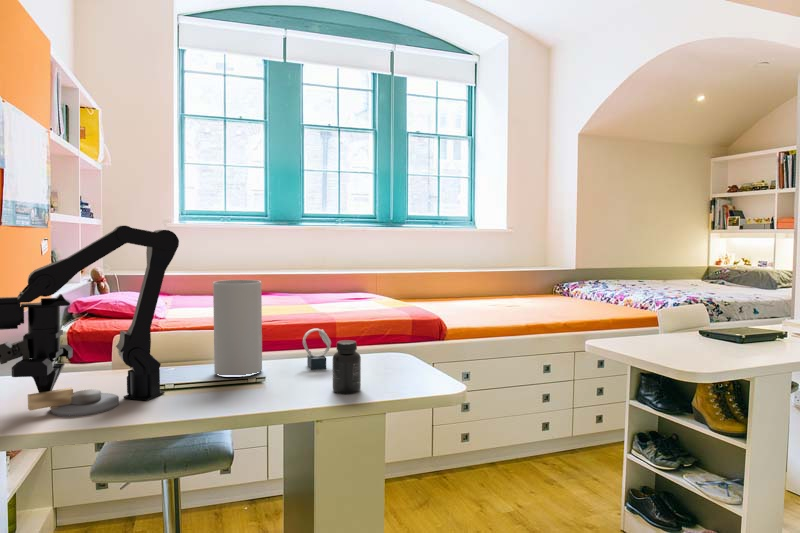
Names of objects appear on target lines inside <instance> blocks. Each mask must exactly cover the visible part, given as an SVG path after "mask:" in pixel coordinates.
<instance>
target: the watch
mask: <svg viewBox="0 0 800 533" xmlns="http://www.w3.org/2000/svg"><path fill="white" fill-rule="evenodd" d="M314 332H318V334H319V336H320V338H321V339H322V341H323V343H324V344H325V346H326V348H325V349H324V351H323V352H321V353H316V354H314V353H312V351H311V350H310V349H309V348H308V345H307V341H306V339H307V337H308V336H309V335H310V334H312V333H314ZM302 345H303V348H304V349H305V352H306V353H307V361H306V363H307V364H306V365H307V366H308V368H309V369H310V371H315V370H326V369H327V356H325V355H327V354H328V353H329V351H330V349H331V345H332V341H331V338H329V336H328V334H327V333H326V331H325V330H324V329H323V328H322V329H320V328H311V329H309V330H308V331H306V332H305V333H304V335H303V338H302Z"/></svg>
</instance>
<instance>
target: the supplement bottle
mask: <svg viewBox="0 0 800 533" xmlns="http://www.w3.org/2000/svg"><path fill="white" fill-rule="evenodd" d="M357 350H358V347H357V341H356V340H349V339H347V340H346V339H344V340H338V341H337V342H336V352H334V353H333V355H332V391H333V392H334V393H335V394H338V395H339V394H340V395H352V394H357V393H359V392H360V391H361V387H362V385H361V384H362V383H361V382H362V381H361V378H362V376H361V375H362V373H361V372H362V366H361V365H362V363H361V362H362V359H361V354H360V353H359V352H357Z"/></svg>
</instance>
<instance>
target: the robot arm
mask: <svg viewBox="0 0 800 533" xmlns="http://www.w3.org/2000/svg"><path fill="white" fill-rule="evenodd" d="M179 240H180V239H179V238H178V235H177V234H176V233H174V232H173V231H171V230H169V229H157V230H153V231H151V230H146V229H140V228H135V227H130V226H128V225H118V226H116V227H115V228H114V229H113V230H111V231H110V232H108V233H107V234H105V235H103V236H101V237H99V238H98V239H96V240H95V241H93V242H91V243H89V244H88V245H86V246H84V247H83V248H81V249H79V250H78V251H76V252H74V253H72V254H70V255H69V256H67V257H65V258H63V259H59V260H57V261H54V262H51V263H49V264H48V263H47V264H46V265H43V266H40V267H39V268H35V269H34V270H33V271H31V272H30V274H29V275H28V278H27V285H26V286H25V287H24V288H23V289H22V291H19V294H18V295H17V296H10V297H9V296H6V297H5V296H3V297H0V331H3V330H6V331H7V330H18V327H19V326H21V324H22V325H24V324H25V308H27V329H28V330H27V333H24V335H23V336H22V339H21V340H19V341H16V342H15V341H14V342H13V343H9V342H8V341H5V342H4V343H0V365H4V364H7V363H8V362H10V361H12V360H16V359H18V358H21V357H22V359H20V360H19V361H18V362H16V363H15V364H14V365H12V366H11V377H12V378H30V377H31V378H32V379H33V381H34V383H35V386H36V388H37V391H38V392H37V393H40V392H47V391H53V390H54V387H55V385H56V383H57V381H58V378H59V376H60V375H61V372H62V370H63V368H64V366H65V363H62V362H61V363H60V362H59V363H58V360H56V359H58V358H62V357H65V359H67V360H69V359H71V358H72V357H73V355H74V354H73V353H74V351H73V347H72V346H71V345H69V344H61V336H63V335H64V330H63V329H61V307H69V306H71V302H70V301H69V300H68V299H66V297H64V296H63V294H61V293H60V294H59V295H58V296H56V297H50V296H52V295H54V294H56V293H57V292H59V290H61V289H62V288H63V287H64V286H65V285H66V284H68V282H70V281H71V280H72V279H73V278H74V277H75V276H76V275H77V274H78V273H80V272H81V271H83V270H84V269H86V268H88V267H90V266H91V265H93V264H94V263H96V262H97V261H99V260H102V258H104V257H106V256H108V255H109V254H110V253H111V254H112V253H113V252H114V251H116V250H117V249H119V248H121V247H122V246H124V245H126V244H131V245H136V246H141V247H146V252H145V253H146V255H145V256H146V268H145V271H144V276H143V279H142V284H141V286H140V291H139V295H138V297H137V303H136V306H135V310H134V313H133V317H132V321H131V324H130V326H129V327H128V329H127V330H120V333H119V340H118V343H117V344H116V346H115V347H116V348H117V351H118V352H117V353H118V356H119V357H120V360H122V362H123V363H124V364H125V365H126V366H127V367H129V368H131V369H128V370H127V376H126V395H123V396H122V397H123V399H125V400H136V401H149V400H151V399H155V398H157V397H159V396H160V395H164V394H165V390H161V373H160V371H161V370H160V367H161V364H162V363H161V362H160V361H158V359H156V357H155V356H153V355H152V354H151V347H152V337H151V336H152V335H151V327H152V323H153V319H154V317H155V316H154V315H155V312H156V308H157V304H158V300H159V297H160V294H161V289H162V285H163V281H164V277H165V273H166V270H167V268H168V267H169V265H170V264H171V262H172V260H173V258H174V256H175V254H176V252H177V250H178V248H179V245H180V244H179V243H180V241H179ZM40 297H41V298H40ZM38 298H40V302H33V301H35V300H36V299H38Z"/></svg>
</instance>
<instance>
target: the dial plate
mask: <svg viewBox="0 0 800 533" xmlns="http://www.w3.org/2000/svg"><path fill="white" fill-rule="evenodd" d="M119 397H120V396H119V395H117V394H116V393H109V392H101V400H99V401H97V402H94V403H90V404H83V405H74V404H70V403H69V404H64V405H58V406H53V407H49V409H50V413H51V414H52V415H54V416H58V417H64V418H65V417H66V418H67V417H70V418H71V417H72V418H73V417H82V416H90V415H95V414H99V413H100V414H101V413H103V412H107V411H110V410H112V409H115V408H116V407H117V406H119V404H120V401H119V400H120V398H119Z"/></svg>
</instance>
